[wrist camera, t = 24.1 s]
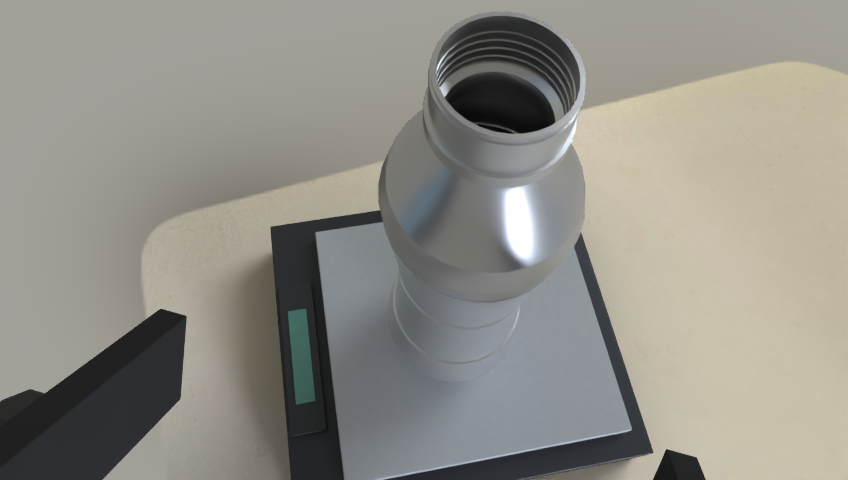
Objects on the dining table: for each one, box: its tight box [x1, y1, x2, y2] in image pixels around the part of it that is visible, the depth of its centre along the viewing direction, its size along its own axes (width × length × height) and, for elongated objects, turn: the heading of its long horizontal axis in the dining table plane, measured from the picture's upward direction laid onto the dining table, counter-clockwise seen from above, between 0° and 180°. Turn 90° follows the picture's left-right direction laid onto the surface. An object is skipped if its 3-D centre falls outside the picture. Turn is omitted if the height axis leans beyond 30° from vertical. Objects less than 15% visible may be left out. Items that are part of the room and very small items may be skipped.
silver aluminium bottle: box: [378, 12, 586, 382], centre depth 22 cm, size 6×7×20 cm
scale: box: [271, 211, 653, 480], centre depth 33 cm, size 18×16×4 cm
